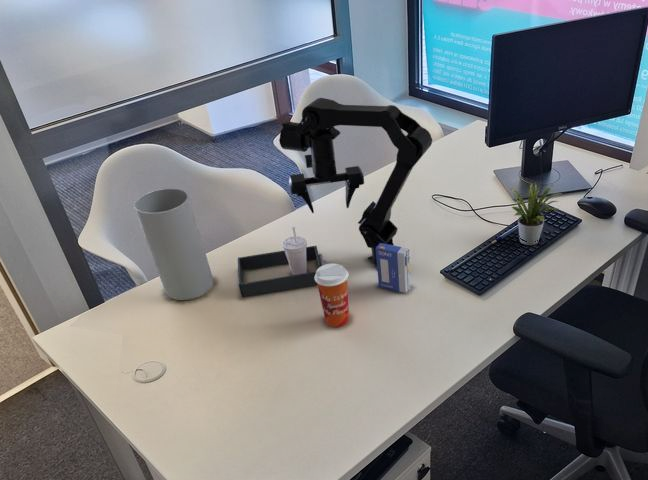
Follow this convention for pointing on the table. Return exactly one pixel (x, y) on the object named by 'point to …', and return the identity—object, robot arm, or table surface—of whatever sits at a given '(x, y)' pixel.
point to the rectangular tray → (280, 282)
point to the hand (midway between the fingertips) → (330, 210)
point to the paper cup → (333, 293)
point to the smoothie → (296, 253)
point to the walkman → (393, 267)
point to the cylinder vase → (175, 243)
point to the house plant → (532, 215)
